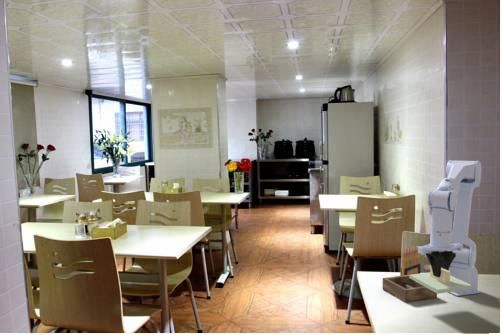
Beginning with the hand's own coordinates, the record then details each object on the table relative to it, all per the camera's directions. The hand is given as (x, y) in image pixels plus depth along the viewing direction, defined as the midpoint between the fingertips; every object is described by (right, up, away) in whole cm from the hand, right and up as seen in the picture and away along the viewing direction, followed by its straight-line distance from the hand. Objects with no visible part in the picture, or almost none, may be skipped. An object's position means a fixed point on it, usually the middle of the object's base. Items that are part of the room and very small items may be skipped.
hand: (439, 275), depth 122 cm
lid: (0, -3, 0) cm, 3 cm away
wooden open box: (-4, -10, +14) cm, 17 cm away
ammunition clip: (+2, -9, +28) cm, 30 cm away
